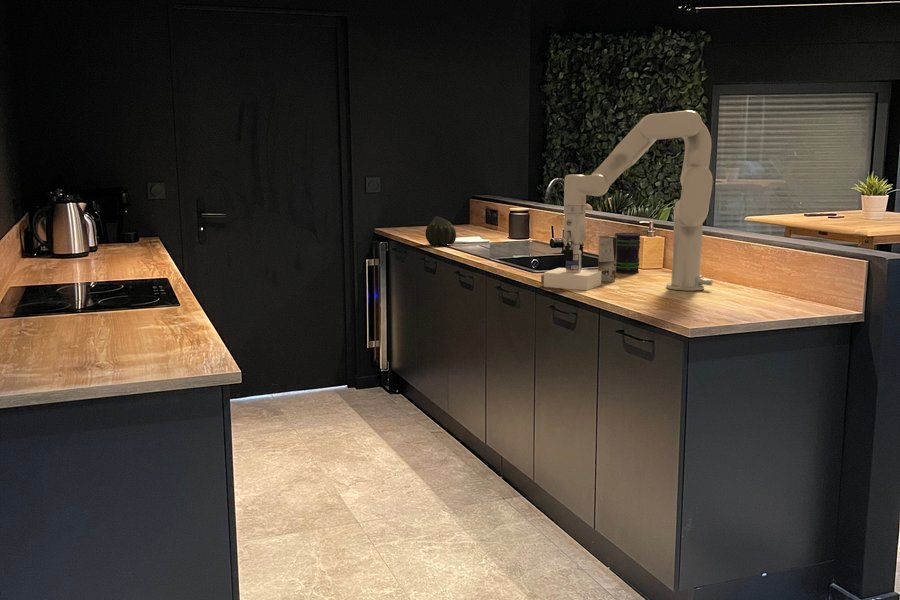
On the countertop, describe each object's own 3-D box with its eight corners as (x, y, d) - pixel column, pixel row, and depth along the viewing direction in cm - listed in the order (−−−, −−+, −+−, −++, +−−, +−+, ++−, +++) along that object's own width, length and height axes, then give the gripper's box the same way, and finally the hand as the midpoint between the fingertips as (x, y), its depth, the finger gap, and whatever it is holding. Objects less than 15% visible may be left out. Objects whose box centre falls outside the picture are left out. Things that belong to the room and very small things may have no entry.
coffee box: (615, 282, 313) (617, 237, 310) (597, 281, 314) (598, 237, 311) (615, 278, 322) (617, 235, 319) (598, 277, 323) (599, 234, 320)
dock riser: (600, 284, 307) (601, 270, 306) (587, 290, 294) (587, 275, 294) (556, 281, 315) (556, 267, 314) (541, 286, 303) (541, 272, 302)
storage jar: (644, 273, 335) (645, 234, 332) (622, 274, 331) (623, 235, 329) (629, 269, 344) (631, 232, 341) (608, 271, 340) (609, 233, 338)
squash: (458, 236, 417) (454, 211, 424) (427, 237, 415) (424, 212, 422) (455, 253, 429) (452, 228, 436) (426, 254, 427) (422, 230, 434)
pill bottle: (571, 269, 307) (571, 242, 305) (584, 271, 304) (584, 243, 302) (562, 271, 303) (563, 244, 301) (575, 273, 300) (575, 245, 298)
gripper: (575, 212, 290) (574, 263, 293) (593, 209, 305) (592, 257, 308) (555, 211, 294) (554, 261, 297) (573, 208, 309) (572, 256, 312)
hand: (573, 259), depth 303 cm, fingers open, 9 cm apart
